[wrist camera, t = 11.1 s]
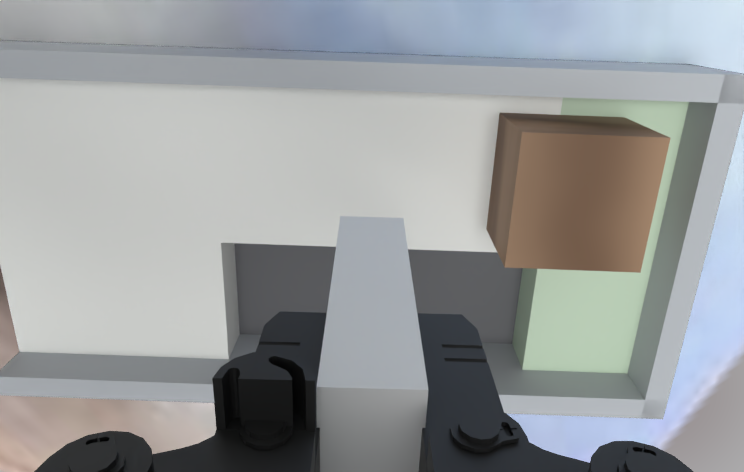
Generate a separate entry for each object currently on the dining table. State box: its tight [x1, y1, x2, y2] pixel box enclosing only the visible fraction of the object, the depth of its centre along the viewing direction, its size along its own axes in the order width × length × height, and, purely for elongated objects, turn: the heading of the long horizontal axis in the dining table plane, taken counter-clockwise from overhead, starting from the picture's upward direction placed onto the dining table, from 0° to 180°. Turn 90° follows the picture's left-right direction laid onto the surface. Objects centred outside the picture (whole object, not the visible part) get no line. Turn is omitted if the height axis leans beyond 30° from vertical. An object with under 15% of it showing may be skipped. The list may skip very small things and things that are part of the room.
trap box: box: [0, 40, 744, 419], centre depth 26 cm, size 30×15×4 cm, turn 88°
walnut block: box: [486, 113, 670, 273], centre depth 22 cm, size 5×5×4 cm
